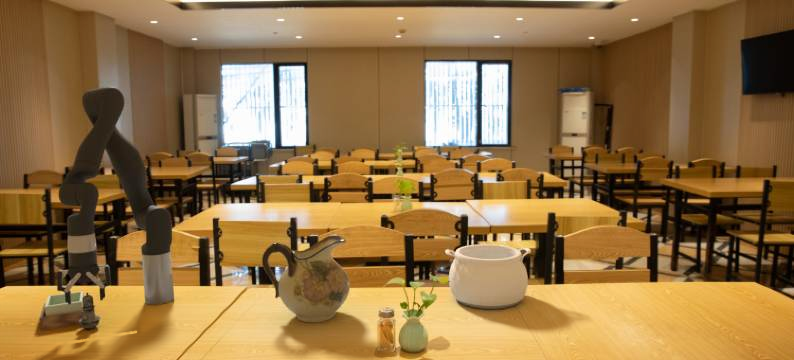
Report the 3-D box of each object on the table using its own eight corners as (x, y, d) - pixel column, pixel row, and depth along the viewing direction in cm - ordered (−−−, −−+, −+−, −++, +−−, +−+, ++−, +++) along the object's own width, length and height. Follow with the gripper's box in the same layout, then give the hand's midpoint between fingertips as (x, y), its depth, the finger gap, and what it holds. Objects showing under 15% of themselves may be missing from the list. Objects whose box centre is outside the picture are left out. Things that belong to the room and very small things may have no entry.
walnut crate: (90, 310, 201) (89, 297, 200) (89, 324, 187) (87, 311, 187) (45, 316, 195) (44, 303, 195) (40, 332, 182) (39, 318, 181)
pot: (520, 286, 220) (521, 239, 217) (540, 311, 193) (541, 258, 191) (441, 288, 219) (441, 241, 216) (450, 313, 192) (450, 261, 190)
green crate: (84, 310, 199) (83, 291, 198) (83, 321, 188) (81, 301, 187) (50, 315, 195) (48, 295, 194) (46, 327, 184) (44, 306, 183)
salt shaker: (92, 334, 179) (89, 295, 178) (75, 333, 180) (71, 294, 179) (105, 327, 185) (102, 289, 183) (88, 326, 186) (85, 288, 185)
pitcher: (365, 313, 193) (362, 237, 190) (307, 335, 176) (302, 252, 173) (320, 299, 208) (316, 228, 205) (262, 319, 191) (258, 241, 188)
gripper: (109, 244, 186) (112, 295, 188) (56, 248, 180) (59, 301, 182) (108, 249, 179) (111, 302, 181) (53, 254, 173) (57, 308, 175)
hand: (85, 301), depth 181 cm, fingers open, 8 cm apart
